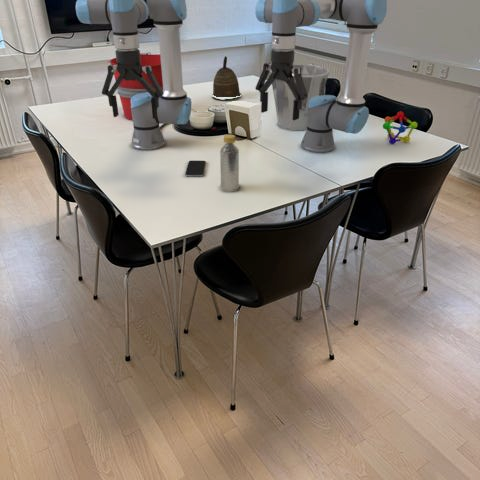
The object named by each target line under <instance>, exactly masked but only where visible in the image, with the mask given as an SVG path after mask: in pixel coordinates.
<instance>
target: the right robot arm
mask: <svg viewBox="0 0 480 480" xmlns="http://www.w3.org/2000/svg"><path fill="white" fill-rule="evenodd" d="M387 1H388V0H258V1H257V2H256V4H255V8H254V9H255V13H254V14H255V17H256V19H257V21H259V22H261V23H264V24H271V25H272V26H271V27H272V28H271V51H270V62H265V63H263V67H262V71H261V74H260V76H259V78H258V80H257V82H256V85H255V88H254V89H255V91H258V92H259V101H260V105H261V106H260V113H262V114H263V113H266V112H268V108H269V92H268V90H269V88H270V87H272V83H273V82H274V80H275V79H277V80H279V79H280V80H282V81H284V80H285V82H286V83H287V84H288V86H289V87H290V89H291V91H292V93H293V95H294V97H295V99H296V100H294V104H293V119H292V120H297V119H299V111H300V110H301V108H302V100H303V99H306V98H308V95H307V92H306V88H305V85H304V82H303V78H302V75H301V68H300V67H299V68H293V64H294V62H295V50H294V49H295V48H296V36H297V32H296V31H297V28H300V27H301V28H302V27H310V26H313V25H315V24H316V23H317V22H319V20H320V19H321V20H334V21H339V22H346V29H347V31H348V33H349V35H348V36H349V37H348V43H347V50H346V58H345V64H344V65H345V66H344V74H343V79H342V80H343V81H342V88H341V95H340V96H338V97H337V96H335V95H332V94H325V95H324V94H322V95H321V96H315V97H312V98H311V99H310V101H309V106H308V119H307V129H306V131H305V132H304V136H303V138H302V140H301V142H300V143H301V144H300V147H301V149H303V150H304V151H307V152H310V153H316V154H317V153H319V154H323V153H330V152H332V151H334V150H335V146H336V143H335V139H334V133H333V130H335V131H340V132H343V133H346V134H352V135H353V134H354V135H355V134H358V133H360V132H361V131H363V129H364V128H365V126H366V124H367V122H368V119H369V115H370V110H369V108H368V107H367V106H365V105H366V100H365V98H364V97H363V95H364V89H365V84H366V83H365V82H366V77H367V70H368V64H369V57H370V52H371V45H372V38H373V35H374V32H376V31H377V30H378V27H379V26H378V25H381V24H382V23H383V22H384V20H385V18H386V15H387V9H388V8H387V7H388V2H387ZM270 70H271V71H272V73H271V75H269V74H270ZM292 73H293V75H294V77H293V75H292ZM289 78H290V79H289ZM294 78H295V81H296V83H295V81H294Z"/></svg>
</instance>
